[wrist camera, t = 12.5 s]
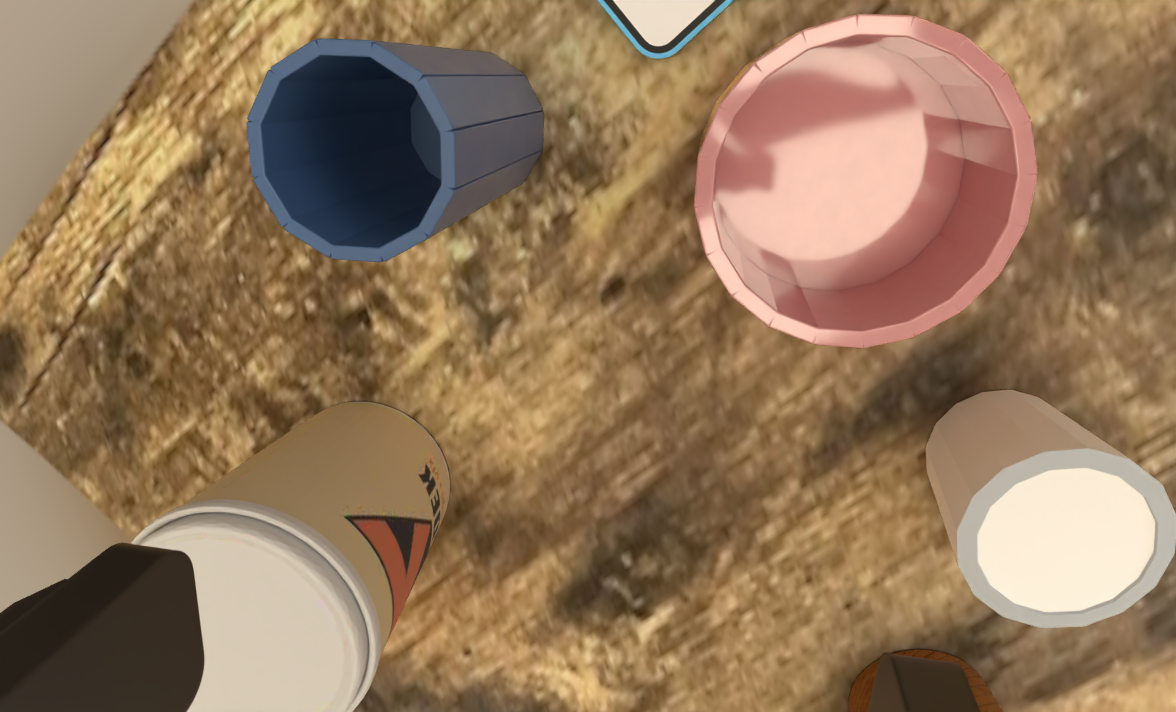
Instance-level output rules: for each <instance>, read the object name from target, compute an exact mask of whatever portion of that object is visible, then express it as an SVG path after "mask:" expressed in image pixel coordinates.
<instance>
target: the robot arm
mask: <svg viewBox="0 0 1176 712" xmlns="http://www.w3.org/2000/svg"><path fill="white" fill-rule="evenodd" d="M204 661H205V658H204V648H203V640H202V632H201V624H200V616H199V608H198V600H197V592H196V584H195V576H194V569H193V564H192V562H191V559H190V558H189V556H188V555H187V554H186V553H185V552H182V551H178V550H171V549H164V548H157V547H150V546H143V545H136V544H128V543H118V544H115V545H113V546H111V547H109V548H108V549H106V550H105V551H104V552H102V553H101V554H100V555H99V556H97V557H96V558H95V559H93V560H92V561H91V562H90V563H88V564H87V565H86V566H85V567H83V568H82V569H81V570H80V571H78V572H77V573H76V574H74V575H73V576H72V577H70V578H69V579H64V580H62V581H60V582H57V583H55V584H53V585H51V586H49V587H47V588H45V589H43V590H41V591H38V592H36V593H34V594H32V595H30V596H28V597H26V598H24V599H21V600H20V601H17V602H15V603H13V604H12V605H10V606H9V607H8V608H7V609H5V610H4V611H3V612H1V613H0V712H187V710H188V709H189V707H190V706H191V704H192V703H193V701H194V699H195V697H196V694H197V692H198V690H199V687H200V684H201V680H202V676H203V671H204ZM868 712H980V710H979V707H978V705H977V702H976V700H975V697H974V695H973V692H972V690H971V687H970V685H969V682H968V680H967V677H966V675H965V673H964V671H963V669H962V667H961V666H960V665H959V664H958V663H954V662H947V661H940V660H933V659H926V658H919V657H912V656H905V655H898V654H891V653H884V654H883V655H882V656H881V658H880V660H879V662H878V666H877V670H876V674H875V679H874V684H873V688H872V693H871V698H870V703H869V708H868Z"/></svg>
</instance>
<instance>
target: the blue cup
mask: <svg viewBox="0 0 1176 712" xmlns="http://www.w3.org/2000/svg"><path fill="white" fill-rule="evenodd" d="M542 110H543V109H542V107H541V105H540V103H539V101H538V99H537V97H536V95H535V93H534V91H533V89H532V87H531V85H530V83H529V81H528V79H527V77H526V76H524V74H523V73H522V72H520V71H519V70H517V69H516V68H514V67H513V66H511V65H510V64H508V63H507V62H505V61H504V60H502V59H501V58H499V57H498V56H496V55H495V54H492V53H490V52H480V51H470V50H461V49H451V48H441V47H431V46H422V45H412V44H402V43H392V42H383V41H373V40H349V39H320V38H319V39H317V40H312V41H311V42H309V43H308V44H306V45H305V46H303V47H301V48H300V49H298V50H297V51H295V52H294V53H292V54H291V55H289V56H287V57H286V58H284V59H283V60H281V61H280V62H278V63H277V64H275V65H273V66H272V67H271V70H269V71H268V72H267V74H266V77H265V79H264V81H263V84H262V86H261V88H260V90H259V93H258V95H257V97H256V99H255V102H254V104H253V106H252V109H251V111H250V113H249V115H248V118H247V119H248V120H250V121H248V122H247V131H248V142H249V152H250V163H251V173H252V177H256V178H254V180H253V181H254V182H255V184H256V186H257V187H258V189H259V191H260V192H261V194H262V196H263V197H264V199H265V200H266V202H267V204H268V205H269V207H270V209H271V210H272V212H273V213H274V215H275V217H276V218H277V220H278V222H279V223H280V225H281V226H282V227H284V226H285V228H284V229H285V230H286V231H288V232H289V233H291V234H292V235H294V236H295V237H297V238H299V239H300V240H302V241H303V242H305V243H306V244H308V245H309V246H311V247H313V248H314V249H316V250H317V251H319V252H320V253H322V254H324V255H325V256H327V257H331V258H332V259H340V260H355V261H369V262H383V261H387V260H389V259H391V258H393V257H395V256H397V255H398V254H400V253H402V252H404V251H406V250H408V249H410V248H411V247H413V246H415V245H417V244H419V243H421V242H423V241H425V240H426V239H428V238H430V237H432V236H433V235H435V234H437V233H438V232H440V231H442V230H444V229H445V228H447V227H449V226H450V225H452V224H454V223H456V222H457V221H459V220H461V219H463V218H464V217H466V216H468V215H469V214H471V213H473V212H475V211H476V210H478V209H480V208H481V207H483V206H485V205H487V204H488V203H490V202H492V201H493V200H495V199H497V198H499V197H500V196H502V195H504V194H505V193H507V192H509V191H511V190H512V189H514V188H516V187H517V186H519V185H521V184H522V183H523V182H524V181H525V180H526V178H527V177H528V175H529V173H530V172H531V170H532V168H533V166H534V165H535V163H536V161H537V160H538V158H539V156H540V155H541V153H542V149H543V117H544V113H543V112H542Z"/></svg>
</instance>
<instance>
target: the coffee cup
mask: <svg viewBox="0 0 1176 712" xmlns="http://www.w3.org/2000/svg"><path fill="white" fill-rule="evenodd" d="M449 496H450V478H449V472H448V468H447V464H446V461H445V458H444V456H443V454H442V452H441V450H440V448H439V447H438V445H437V444H436V442H435V441H434V439H433V438H432V436H431V435H430V434H429V433H428V432H427V431H426V430H425V429H424V428H423V427H422V426H421V425H420V424H419V423H417V422H416V421H415V420H414V419H412V418H410V417H409V416H407V415H406V414H404V413H402V412H401V411H398V410H396V409H394V408H391V407H389V406H385V405H382V404H378V403H372V402H347V403H341V404H337V405H334V406H331V407H329V408H327V409H324V410H323V411H321V412H319V413H318V414H316V415H314V416H313V417H311V418H309V419H308V420H306V421H304V422H303V423H301V424H300V425H299V426H297V427H296V428H294V429H293V430H291V431H290V432H288V433H287V434H285V435H284V436H282V437H281V438H279V439H278V440H276V441H275V442H273V443H272V444H270V445H269V446H267V447H266V448H264V449H263V450H261V451H260V452H259V453H257V454H256V455H254V456H253V457H251V458H250V459H248V460H247V461H245V462H244V463H242V464H241V465H240V466H238V467H237V468H235V469H234V470H232V471H231V472H229V473H228V474H227V475H225V476H224V477H222V478H221V479H219V480H218V481H216V482H215V483H213V484H212V485H211V486H209V487H208V488H206V489H205V490H203V491H202V492H200V493H199V494H198V495H196V496H195V497H193V498H192V499H190V500H189V501H188V502H186V503H185V504H184V505H182V506H180V507H178V508H175V509H173V510H171V511H169V512H167V513H165V514H164V515H162V516H160V517H159V518H157V519H156V520H154V521H153V522H152V523H150V524H149V525H148V526H146V527H145V528H144V529H143V530H142V531H141V532H140V533H139V534H138V535H137V536H136V538H135V539H134V540H133V541H132V543H131V544H136V545H143V546H150V547H157V548H164V549H171V550H178V551H182V552H185V553H186V554H187V555H188V556H189V558H190V559H191V562H192V564H193V569H194V576H195V584H196V592H197V600H198V608H199V616H200V624H201V632H202V640H203V648H204V658H205V661H204V671H203V676H202V680H201V684H200V687H199V690H198V692H197V694H196V697H195V699H194V701H193V703H192V704H191V706H190V707H189V709H188V710H187V712H352V711H353V710H354V709H355V708H356V707H357V705H358V704H359V703H360V702H361V700H362V699H363V698H364V696H365V694H366V693H367V691H368V689H369V687H370V685H371V683H372V680H373V678H374V675H375V673H376V670H377V666H378V663H379V658H380V655H381V653H382V651H383V649H384V647H385V645H386V643H387V641H388V639H389V637H390V634H391V632H392V630H393V628H394V626H395V624H396V622H397V620H398V618H399V616H400V613H401V611H402V609H403V607H404V605H405V602H406V600H407V598H408V596H409V594H410V591H411V589H412V587H413V585H414V583H415V580H416V578H417V576H418V574H419V571H420V569H421V567H422V565H423V563H424V560H425V558H426V556H427V554H428V552H429V549H430V547H431V545H432V543H433V541H434V538H435V536H436V534H437V532H438V529H439V527H440V525H441V522H442V520H443V517H444V515H445V512H446V509H447V506H448V501H449Z"/></svg>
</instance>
